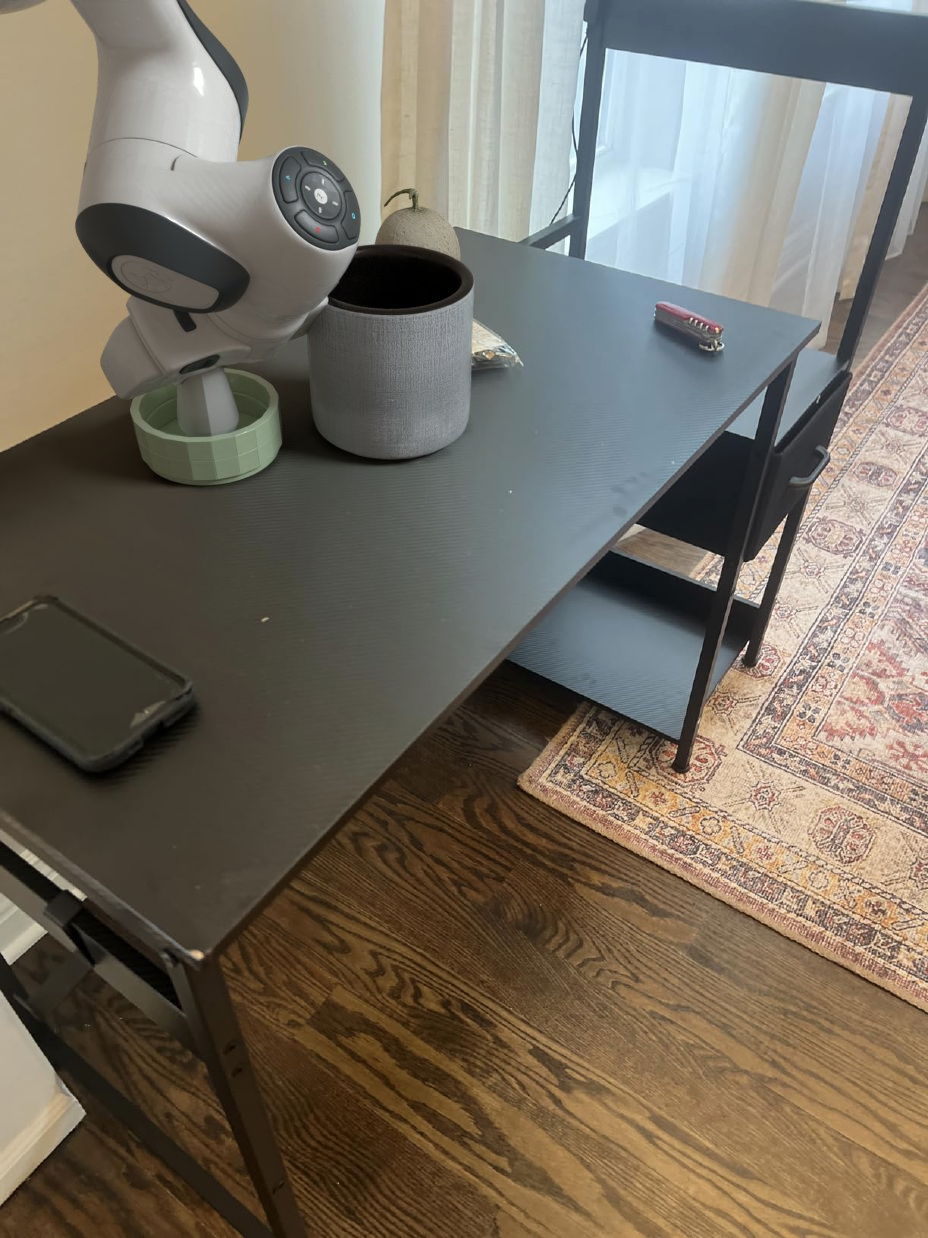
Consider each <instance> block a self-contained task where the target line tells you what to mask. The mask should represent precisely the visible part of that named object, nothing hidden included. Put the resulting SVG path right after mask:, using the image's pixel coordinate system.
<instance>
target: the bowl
mask: <svg viewBox="0 0 928 1238" xmlns="http://www.w3.org/2000/svg"><path fill="white" fill-rule="evenodd" d="M224 371H225V374H226V377H227V380H228V382H229V385H230V388H231V391H232V394H233V397H234V400H235V403H236V406H237V409H238V413H239V423H238V426H237V428H236V430H235V431H234V432H231V433H226V434H221V435H215V436H210V437H187V436H186V434H185V433H184V432H183V431H182V430H181V429H180V427H179V424H178V420H177V386H174V385H173V384H170V385H167V386H164V387H162V388H159V389H156V390H153V391H151V392H148V393H145V394H143V395H140V396H137V397H135V398H132V402H131V405H130V408H129V412H130V413H129V414H130V418H131V422H132V426H133V430H134V435H135V438H136V443H137V447H138V451H139V453H140V456H141V459H142V461H144V462H145V463H146V464H147V466H148V467H149V468H150V469H151V471H153V472H154V473H155V474H157V475H158V476H159V477H161V478H164V479H166V480H168V481H171V482H174V483H178V484H182V485H191V486H217V485H218V486H219V485H223V484H230V483H233V482H238V481H241V480H244V479H246V478H249V477H251V476H254V475H255V474H257V473H259V472H261V471H262V470H264V469H265V468H267V467H268V466H269V465H270V464H271V463H272V462H273V461H274V460H275V459H276V457H277V456H278V453H279V451H280V448H281V446H282V445H283V434H284V433H283V423H282V415H281V406H280V397H279V394H278V392H277V390H276V389H275V387H274V386H273V384H271V383H270V382H269V381H268V380H266V379H265V378H263V377H262V376H260V375H258V374H254V373H251V372H249V371H245V370H242V369H234V368H229V367H226V368H224Z"/></svg>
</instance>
